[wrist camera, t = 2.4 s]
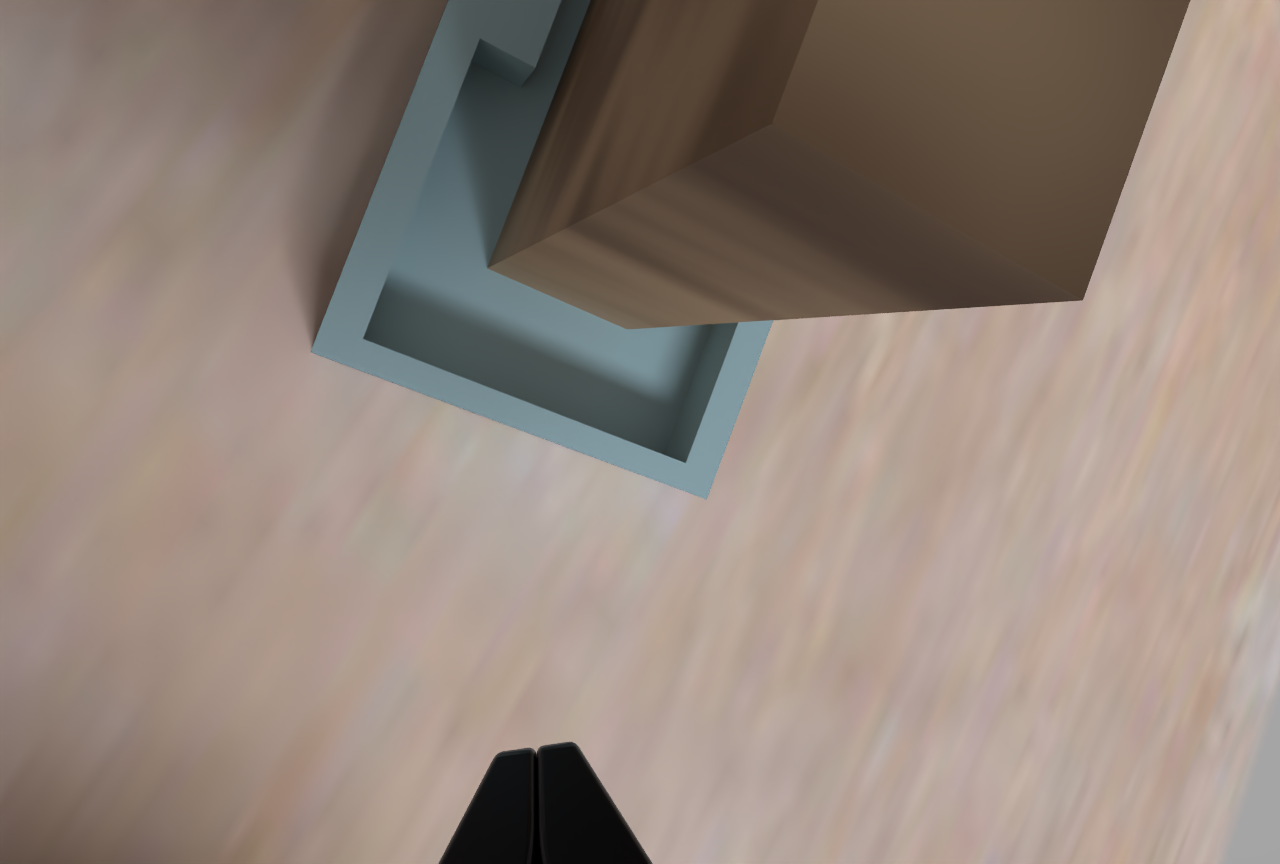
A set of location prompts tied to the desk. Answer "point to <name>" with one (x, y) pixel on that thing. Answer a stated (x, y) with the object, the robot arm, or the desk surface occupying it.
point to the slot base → (501, 307)
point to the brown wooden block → (833, 155)
